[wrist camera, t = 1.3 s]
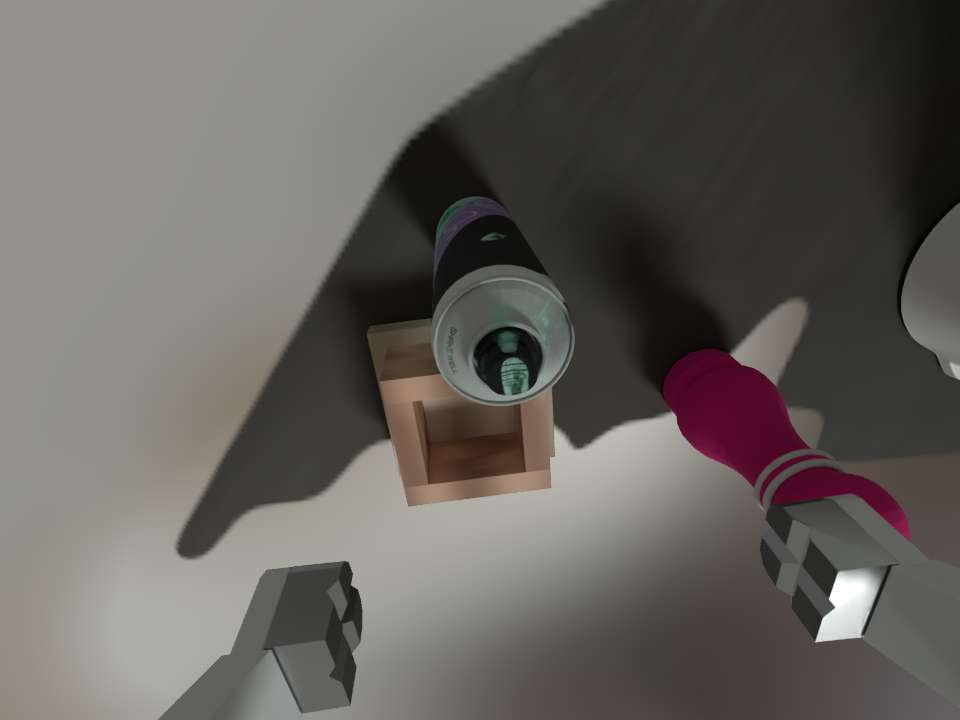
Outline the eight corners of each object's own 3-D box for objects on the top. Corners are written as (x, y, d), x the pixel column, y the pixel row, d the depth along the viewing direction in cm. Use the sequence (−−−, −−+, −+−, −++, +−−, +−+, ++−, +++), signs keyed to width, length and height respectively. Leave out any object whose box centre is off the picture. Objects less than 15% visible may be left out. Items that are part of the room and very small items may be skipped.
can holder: (544, 304, 36) (563, 340, 31) (551, 445, 42) (568, 498, 37) (369, 326, 36) (355, 366, 30) (401, 464, 42) (394, 521, 36)
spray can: (482, 178, 32) (532, 261, 14) (530, 243, 34) (626, 385, 16) (419, 231, 33) (392, 368, 16) (469, 290, 36) (496, 470, 18)
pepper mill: (653, 423, 42) (807, 652, 24) (659, 347, 39) (845, 548, 21) (736, 414, 42) (950, 635, 24) (750, 337, 39) (1010, 529, 21)
